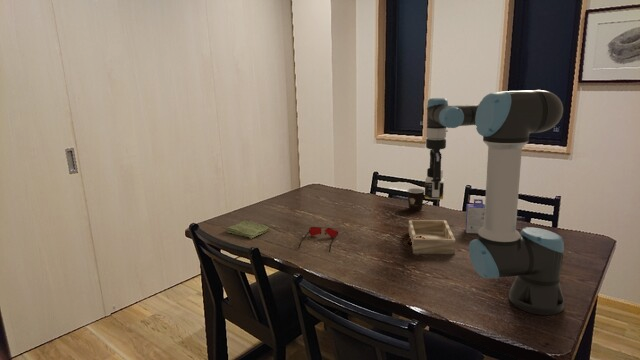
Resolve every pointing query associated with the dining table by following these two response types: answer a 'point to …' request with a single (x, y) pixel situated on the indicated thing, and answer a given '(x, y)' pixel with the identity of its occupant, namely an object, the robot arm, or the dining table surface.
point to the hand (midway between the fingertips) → (434, 193)
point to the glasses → (317, 231)
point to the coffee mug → (415, 199)
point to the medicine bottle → (429, 185)
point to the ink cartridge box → (475, 216)
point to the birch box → (431, 237)
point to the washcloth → (248, 229)
